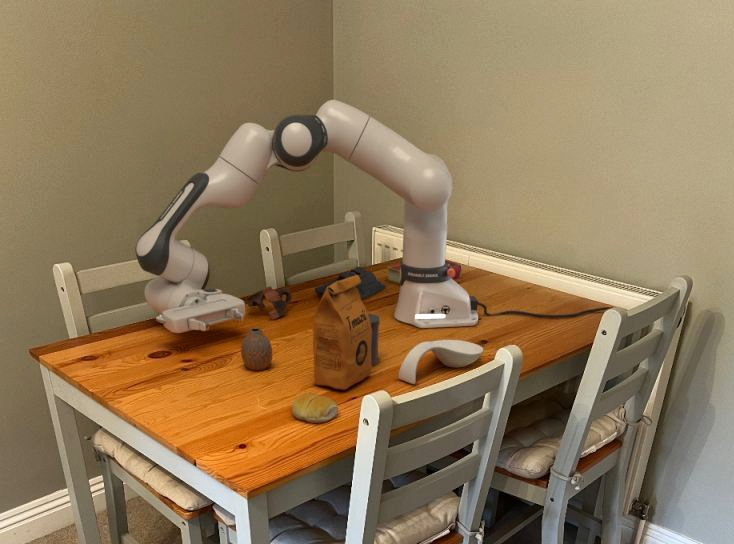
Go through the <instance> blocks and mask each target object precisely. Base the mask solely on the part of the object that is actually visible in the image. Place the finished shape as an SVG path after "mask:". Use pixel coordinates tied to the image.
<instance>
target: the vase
mask: <svg viewBox="0 0 734 544" xmlns="http://www.w3.org/2000/svg"><path fill="white" fill-rule="evenodd" d="M240 355H241V359H242V361H243V364H244V365H245V366H246V367H247V369H249V370H251V371H264V370H266V369H267V368H268V367H269V366H270V364H271V363H272V361H273V346H272V344H271V341H270V340H269V338H268V337H267V336H266V335H265V333H263V330H262V329H261V328H260V327H252V328H250V329H249V331H248V333H247V334H246V336H245V338H244V339H243V340H242V343H241V347H240Z"/></svg>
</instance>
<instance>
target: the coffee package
mask: <svg viewBox="0 0 734 544" xmlns="http://www.w3.org/2000/svg"><path fill="white" fill-rule="evenodd" d="M360 283H361V280H360V278H359V276H358V275H355V276H352V277H349V278H346V279H343V280H340V281H336V282H335V283H333V284H332V285H330V286H328V287H327V288H326V291H325V293H324V295H321V296H322V297H321V298H320V301H319V302H318V304H317V307H316V309H315V312H314V318H313V330H312V331H313V333H312V334H313V337H312V350H313V367H314V368H313V370H314V372H313V373H314V374H313V375H314V377H313V378H314V385H317V386H323V387H329V388H332V389H335V390H343V391H345V390H347V389H349V388H350V387H352V386H353V385H355V384H357V383H360V382H361V381H363V380H365V379H366V378H368V377H369V376H370V375H371V372H372V370H373V369H372V366H371V342H372V328H371V322H370V319H369V316H368V310H367V308H366V305H364V302H363V301H362V300H361V298H360V294H359V291H358V289H357V288H356V286H357V285H359V284H360Z"/></svg>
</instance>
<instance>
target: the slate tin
mask: <svg viewBox="0 0 734 544" xmlns="http://www.w3.org/2000/svg"><path fill="white" fill-rule="evenodd" d="M367 313H368V312H367ZM368 316H369V319H370V322H371V328H372V342H371V367H374V366H376V365H377V364H378V362H379V337H380V336H379V335H380V334H379V332H380V324H381V317H380V316H379V315H377V314H373V313H368Z"/></svg>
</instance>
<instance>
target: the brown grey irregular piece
mask: <svg viewBox="0 0 734 544" xmlns="http://www.w3.org/2000/svg"><path fill="white" fill-rule="evenodd" d="M284 295H285V300H283V296H284ZM292 298H293V294H292V292H291V291H290V290H289V289H288V288H282V289H279V290H274V289H273V287H272V285H271V286H266V287H265V288H263V289H261V290H258V291H256V292H255V293H253V294H250V295H249V296H248V297H247V301H248V308H250V309H252V308H253V307H257V308H258V309H259V310H260V311H262V310H263V309H265V307H266V303H264V301H263V300H264V299H265V300H266V301H267V302H268V303H271V304H272V306H273V309H272V310H271V311H269V312H268V314H269V316H270V318H271V321H273V320H276V319H278V318H279V317H284V316H286V308H287V307H288V306H289V305H290V304H291V302H292Z"/></svg>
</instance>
